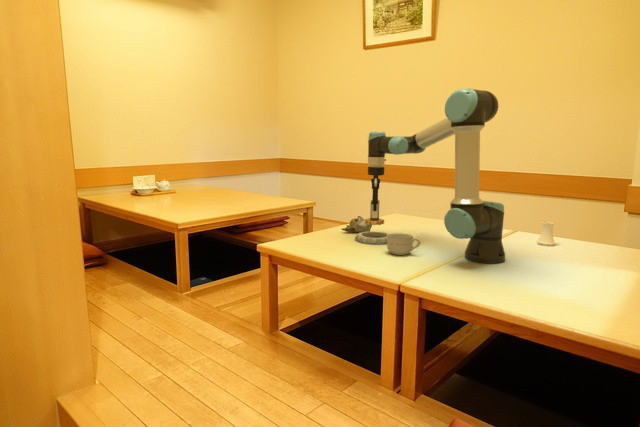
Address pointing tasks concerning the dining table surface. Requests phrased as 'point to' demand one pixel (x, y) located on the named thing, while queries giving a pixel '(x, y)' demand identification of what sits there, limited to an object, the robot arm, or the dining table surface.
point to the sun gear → (374, 220)
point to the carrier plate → (372, 238)
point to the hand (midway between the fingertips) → (374, 216)
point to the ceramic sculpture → (357, 226)
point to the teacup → (401, 243)
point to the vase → (546, 235)
